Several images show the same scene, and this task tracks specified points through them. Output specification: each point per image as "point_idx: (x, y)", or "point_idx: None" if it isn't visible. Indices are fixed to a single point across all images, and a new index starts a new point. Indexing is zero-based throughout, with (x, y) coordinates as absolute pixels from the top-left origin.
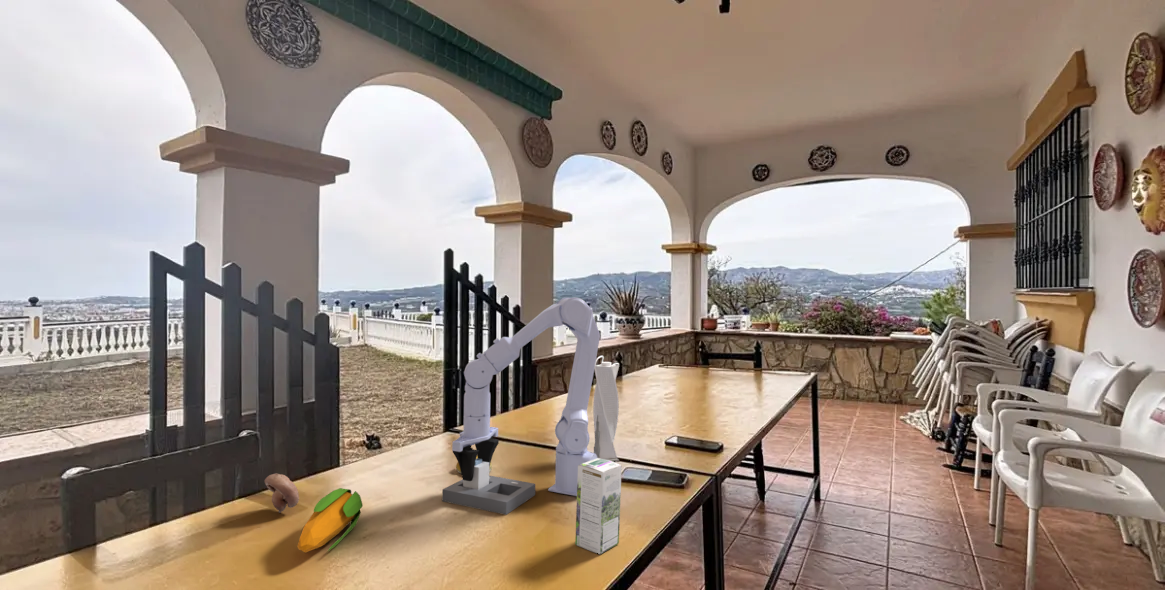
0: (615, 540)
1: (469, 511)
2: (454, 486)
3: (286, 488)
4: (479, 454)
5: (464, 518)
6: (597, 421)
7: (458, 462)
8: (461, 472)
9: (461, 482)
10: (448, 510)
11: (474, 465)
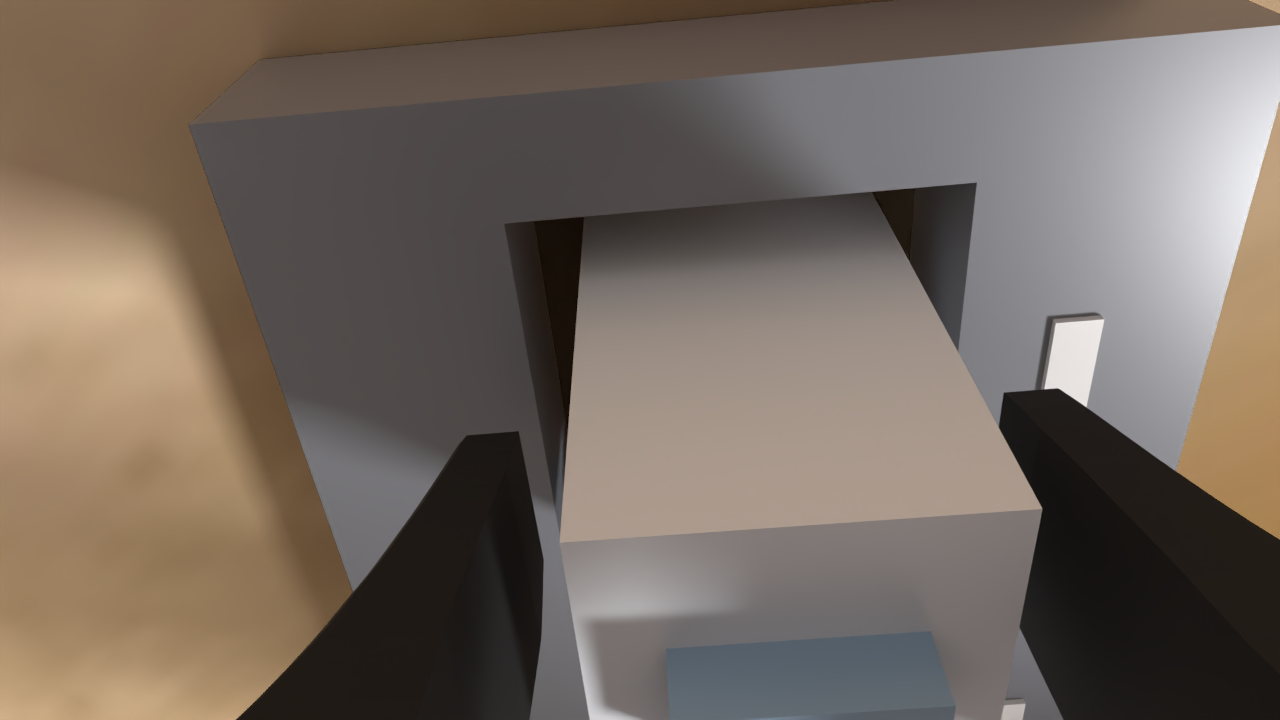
0: None
1: (299, 536)
2: (440, 204)
3: None
4: (1200, 664)
5: (145, 594)
6: None
7: (268, 696)
8: (414, 521)
9: (670, 173)
10: (133, 350)
11: (664, 716)
